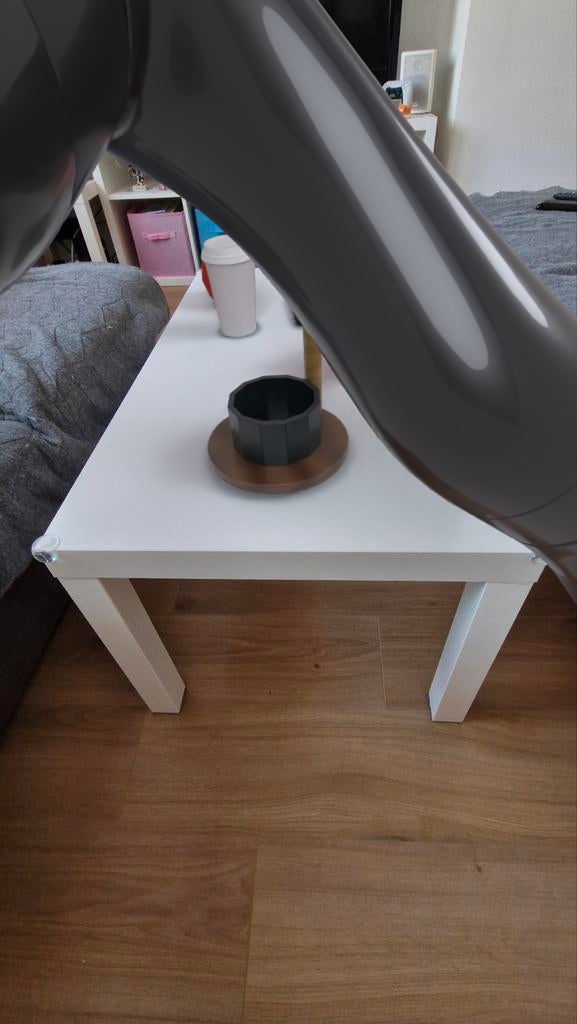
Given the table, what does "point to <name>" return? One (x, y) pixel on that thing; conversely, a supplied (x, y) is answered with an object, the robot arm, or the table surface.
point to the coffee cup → (231, 285)
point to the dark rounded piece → (279, 432)
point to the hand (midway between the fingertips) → (359, 294)
